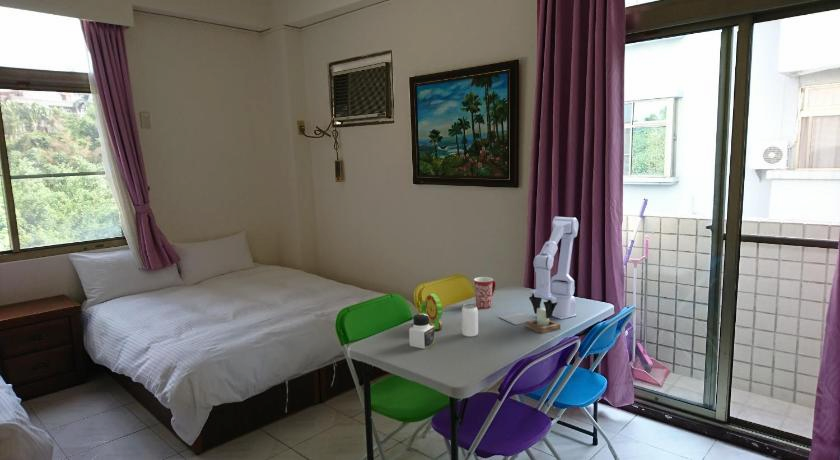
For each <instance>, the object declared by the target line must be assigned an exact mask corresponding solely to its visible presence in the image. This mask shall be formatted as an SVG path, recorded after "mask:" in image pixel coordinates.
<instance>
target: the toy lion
mask: <svg viewBox="0 0 840 460" xmlns="http://www.w3.org/2000/svg"><path fill="white" fill-rule="evenodd" d="M420 314H426V315H428V316H429V325H430V326H434V331H436V330H439V331H440V330H442V329H443V327H444V326H443V322H442V320H440V319H441V318H442V315H443V305H442V303H441V299H439V297H438V295H437V294H436V293H429V294H427V295H426V298H425V299H424V300H423V301H422V302H421V304H420Z"/></svg>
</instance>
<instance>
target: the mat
mask: <svg viewBox="0 0 840 460" xmlns="http://www.w3.org/2000/svg"><path fill="white" fill-rule="evenodd" d="M498 317H499V319H501V320H503V321H505V322H508V323H510V324H511V325H514V326H519V325H520V326H521V325H524V324H525V325H526V322H527V321H532V320H536V319H537V317H536V318H535V317H533V316H531V315H528V314H526V313H523V312H522V311H521V312H515V313H511V314H507V315H501V316H498Z"/></svg>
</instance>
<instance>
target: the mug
mask: <svg viewBox="0 0 840 460" xmlns="http://www.w3.org/2000/svg"><path fill="white" fill-rule="evenodd" d="M473 281H474V282H473V283H474V293H475V295H474V296H475V305H476V306H477V309H482V310H484V309H485V310H486V309H490V308H492V306H493V305H492V301H493V295H494V294H495V289H496V281H495V280H494V279H493V277H489V276H480V277H475V278H473Z"/></svg>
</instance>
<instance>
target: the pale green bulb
mask: <svg viewBox="0 0 840 460" xmlns="http://www.w3.org/2000/svg"><path fill="white" fill-rule="evenodd" d="M536 319H537V325H538V326H541V327H544V326H548V325H549V320H550V318H548V319H547V318H546V309H545V307H541V306H540V308H537V313H536Z"/></svg>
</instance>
